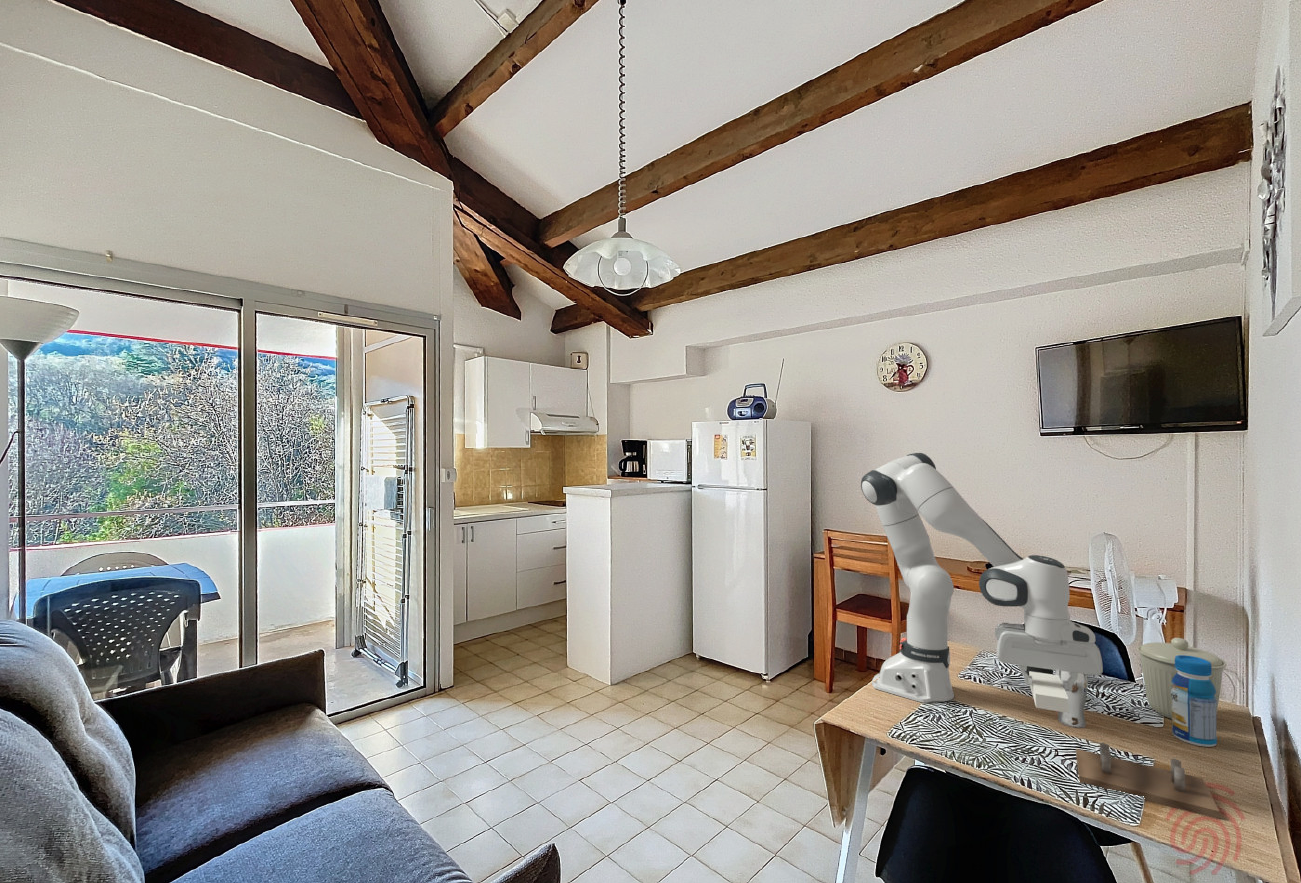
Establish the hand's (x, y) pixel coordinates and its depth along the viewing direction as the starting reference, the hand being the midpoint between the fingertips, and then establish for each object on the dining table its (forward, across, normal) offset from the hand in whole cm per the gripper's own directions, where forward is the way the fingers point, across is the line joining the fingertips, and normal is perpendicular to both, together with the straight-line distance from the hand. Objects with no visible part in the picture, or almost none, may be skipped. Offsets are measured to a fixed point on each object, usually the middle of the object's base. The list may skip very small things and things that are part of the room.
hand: (1047, 687), depth 134 cm
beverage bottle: (+18, +34, +30) cm, 49 cm away
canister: (+18, +36, +46) cm, 61 cm away
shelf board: (+2, 0, 0) cm, 2 cm away
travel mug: (+18, +6, +60) cm, 63 cm away
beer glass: (+18, +9, +27) cm, 33 cm away
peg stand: (+17, +16, -1) cm, 24 cm away
